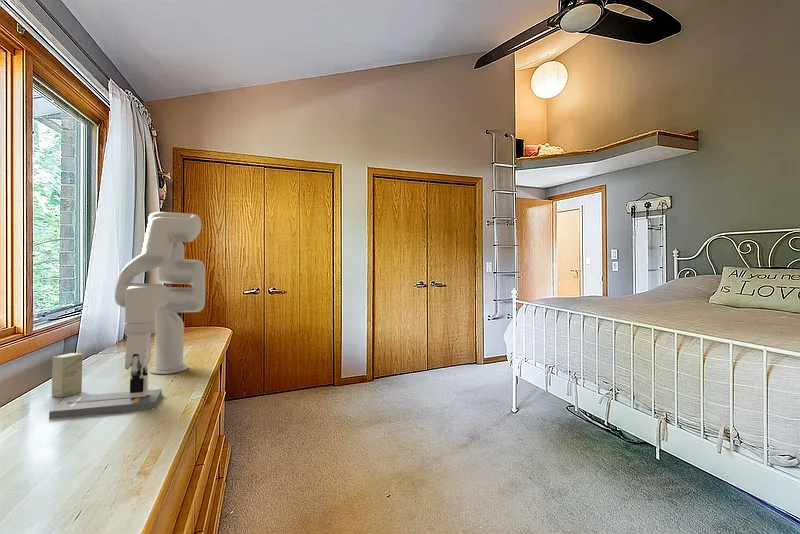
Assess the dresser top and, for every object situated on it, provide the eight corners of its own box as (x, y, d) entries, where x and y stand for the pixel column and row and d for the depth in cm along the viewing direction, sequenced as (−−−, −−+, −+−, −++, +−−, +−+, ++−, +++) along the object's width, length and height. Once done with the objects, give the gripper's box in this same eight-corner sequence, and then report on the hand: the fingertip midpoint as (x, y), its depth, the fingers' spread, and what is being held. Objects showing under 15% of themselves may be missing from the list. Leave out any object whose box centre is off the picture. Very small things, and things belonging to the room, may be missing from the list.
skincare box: (62, 397, 122) (63, 357, 121) (50, 396, 122) (51, 356, 122) (82, 391, 128) (83, 353, 128) (71, 390, 129) (71, 352, 128)
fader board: (66, 403, 117) (66, 396, 117) (161, 395, 126) (161, 388, 126) (49, 419, 106) (49, 411, 106) (154, 408, 115) (154, 401, 115)
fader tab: (132, 394, 119) (132, 376, 119) (147, 393, 121) (148, 375, 121) (129, 397, 116) (129, 379, 116) (145, 396, 118) (146, 378, 118)
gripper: (131, 323, 125) (130, 382, 125) (117, 333, 109) (115, 400, 109) (159, 323, 128) (158, 379, 128) (149, 332, 112) (148, 397, 112)
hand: (138, 388), depth 119 cm, fingers open, 5 cm apart
